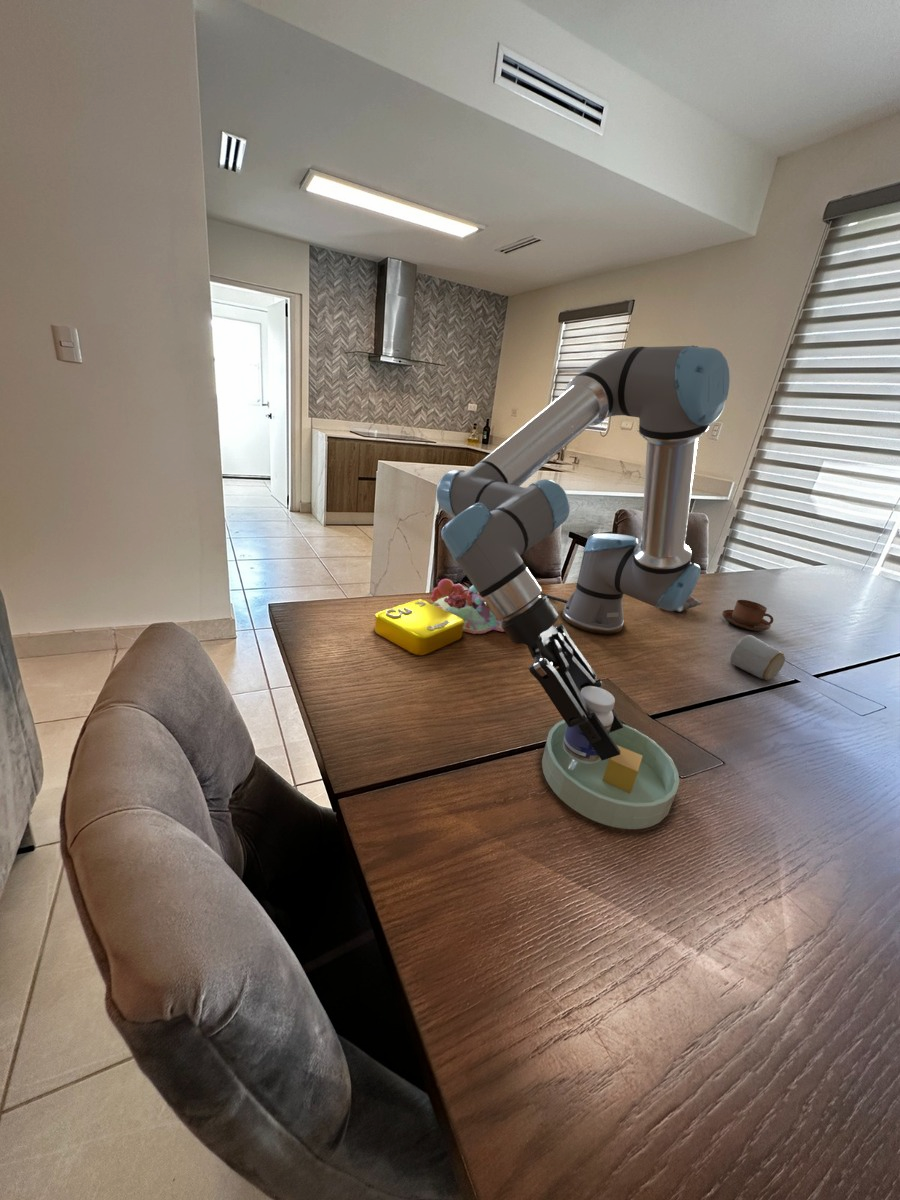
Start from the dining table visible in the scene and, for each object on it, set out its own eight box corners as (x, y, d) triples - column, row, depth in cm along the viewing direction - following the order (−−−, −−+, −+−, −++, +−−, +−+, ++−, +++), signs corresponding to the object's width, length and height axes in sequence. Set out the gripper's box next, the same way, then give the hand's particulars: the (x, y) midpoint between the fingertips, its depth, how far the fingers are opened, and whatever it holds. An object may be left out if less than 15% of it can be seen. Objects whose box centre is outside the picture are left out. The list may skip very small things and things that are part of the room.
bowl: (516, 766, 69) (521, 742, 68) (587, 725, 81) (593, 703, 79) (625, 857, 57) (635, 830, 55) (692, 793, 68) (702, 769, 67)
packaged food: (699, 610, 139) (704, 595, 137) (678, 617, 132) (683, 601, 130) (672, 600, 145) (676, 585, 143) (650, 606, 138) (655, 590, 136)
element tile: (419, 658, 95) (421, 637, 93) (370, 630, 104) (371, 611, 102) (465, 637, 106) (468, 618, 104) (418, 614, 115) (419, 596, 113)
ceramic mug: (762, 685, 101) (776, 654, 98) (725, 666, 107) (737, 636, 104) (785, 676, 106) (799, 646, 104) (749, 658, 113) (761, 630, 110)
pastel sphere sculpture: (480, 589, 134) (484, 559, 131) (549, 620, 120) (556, 586, 116) (415, 609, 117) (418, 574, 114) (487, 647, 103) (493, 609, 99)
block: (602, 780, 68) (608, 759, 66) (608, 765, 71) (614, 744, 70) (630, 793, 66) (638, 771, 65) (635, 776, 69) (642, 755, 68)
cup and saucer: (768, 625, 135) (776, 605, 132) (768, 639, 125) (777, 618, 123) (721, 612, 140) (729, 593, 138) (718, 624, 130) (726, 604, 128)
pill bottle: (594, 771, 65) (612, 712, 61) (556, 753, 68) (571, 695, 64) (606, 750, 70) (623, 694, 66) (569, 733, 73) (584, 678, 69)
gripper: (516, 599, 75) (596, 716, 76) (478, 646, 59) (581, 794, 60) (556, 575, 72) (639, 699, 73) (527, 619, 55) (635, 777, 57)
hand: (612, 741), depth 66 cm, fingers closed on pill bottle, 6 cm apart
